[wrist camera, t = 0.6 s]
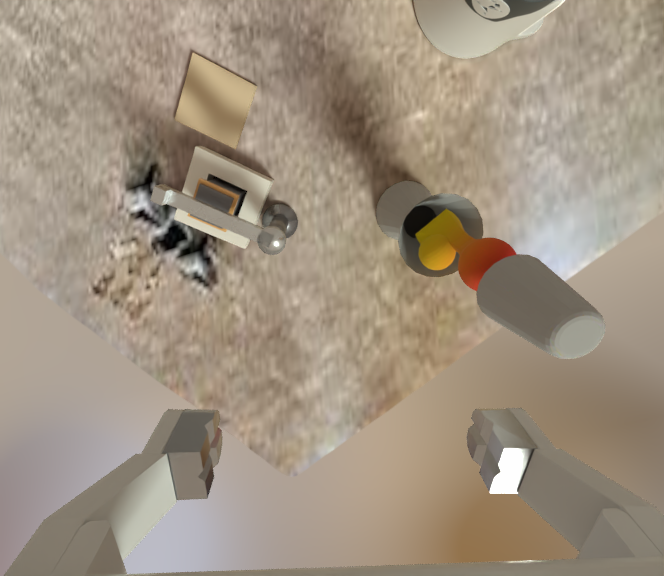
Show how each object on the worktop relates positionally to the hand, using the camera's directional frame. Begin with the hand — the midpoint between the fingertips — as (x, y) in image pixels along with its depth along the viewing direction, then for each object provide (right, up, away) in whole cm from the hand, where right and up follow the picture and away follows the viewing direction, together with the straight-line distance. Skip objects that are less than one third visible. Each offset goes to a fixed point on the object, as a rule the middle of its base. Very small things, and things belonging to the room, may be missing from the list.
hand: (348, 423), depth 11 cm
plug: (-15, +17, +36) cm, 43 cm away
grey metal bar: (-13, +12, +27) cm, 33 cm away
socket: (-15, +17, +36) cm, 43 cm away
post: (-8, +14, +38) cm, 41 cm away
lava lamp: (+10, +16, +38) cm, 43 cm away
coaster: (-15, +28, +32) cm, 45 cm away
